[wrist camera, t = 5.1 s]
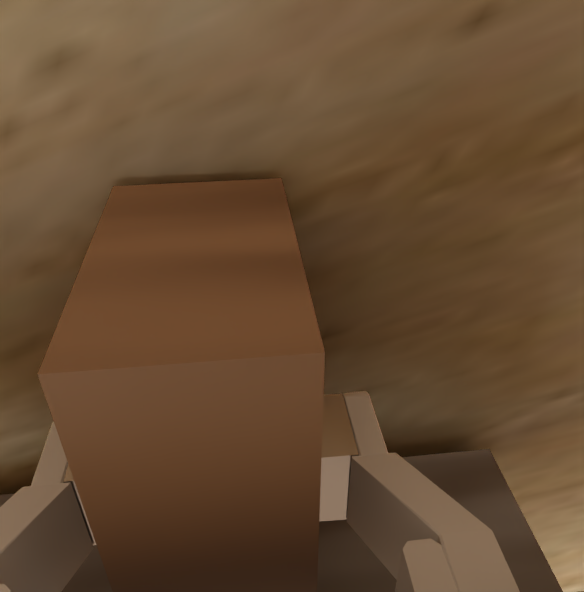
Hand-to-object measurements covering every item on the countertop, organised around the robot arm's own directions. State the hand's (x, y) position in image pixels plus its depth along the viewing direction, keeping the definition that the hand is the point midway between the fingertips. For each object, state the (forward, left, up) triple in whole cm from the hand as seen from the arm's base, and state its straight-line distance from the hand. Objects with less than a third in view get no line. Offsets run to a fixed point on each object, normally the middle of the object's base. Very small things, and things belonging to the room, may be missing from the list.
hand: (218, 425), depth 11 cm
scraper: (0, 0, -2) cm, 2 cm away
